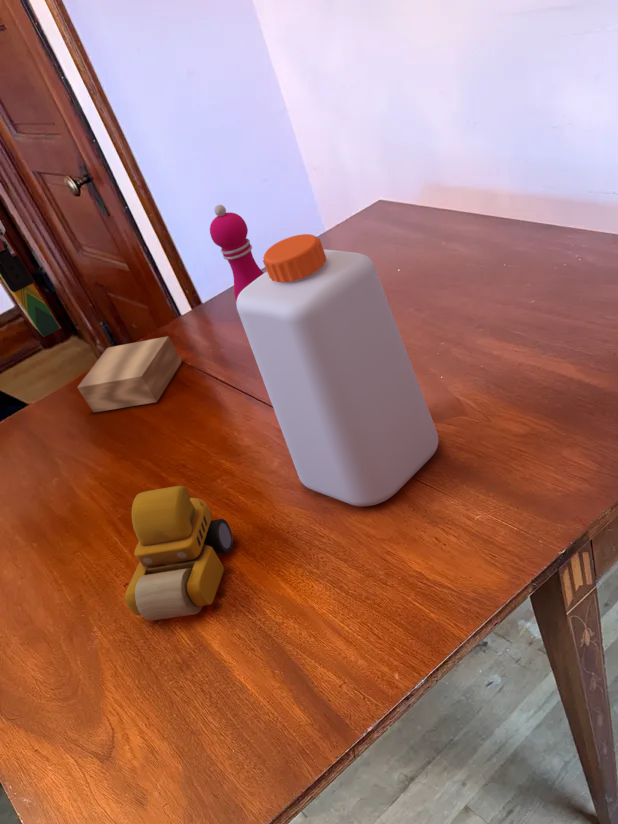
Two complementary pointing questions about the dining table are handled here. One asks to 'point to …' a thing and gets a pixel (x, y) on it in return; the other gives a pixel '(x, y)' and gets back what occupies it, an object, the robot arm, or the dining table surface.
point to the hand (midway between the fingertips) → (16, 280)
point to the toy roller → (175, 554)
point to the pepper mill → (235, 247)
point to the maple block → (130, 374)
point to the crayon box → (35, 309)
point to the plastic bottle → (337, 371)
